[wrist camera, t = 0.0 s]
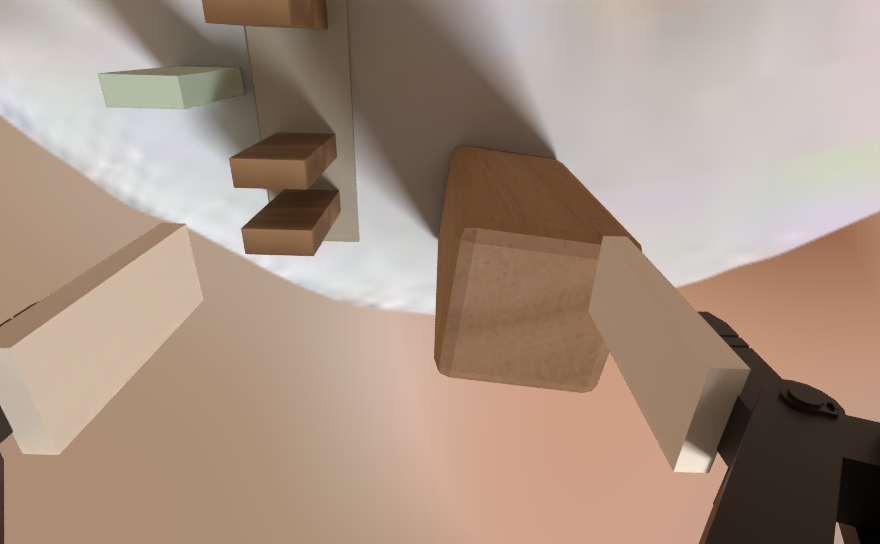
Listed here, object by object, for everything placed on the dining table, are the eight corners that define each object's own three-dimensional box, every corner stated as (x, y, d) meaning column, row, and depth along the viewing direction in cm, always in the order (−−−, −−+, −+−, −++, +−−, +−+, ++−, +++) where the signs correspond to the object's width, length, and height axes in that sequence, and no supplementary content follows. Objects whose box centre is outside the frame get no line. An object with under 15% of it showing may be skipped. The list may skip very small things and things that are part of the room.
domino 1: (260, -3, 36) (199, -17, 27) (326, -1, 36) (286, -15, 27) (264, 27, 37) (205, 22, 28) (328, 29, 37) (290, 25, 28)
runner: (224, -136, 32) (222, -138, 32) (339, -133, 32) (338, -134, 32) (275, 238, 45) (274, 239, 45) (359, 240, 45) (358, 241, 45)
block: (538, 260, 46) (598, 401, 28) (436, 246, 45) (431, 382, 27) (564, 158, 41) (656, 248, 23) (452, 142, 41) (458, 221, 23)
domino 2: (277, 132, 40) (229, 158, 31) (335, 133, 40) (304, 160, 31) (280, 155, 41) (233, 187, 32) (337, 157, 41) (307, 189, 32)
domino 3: (284, 188, 42) (241, 228, 33) (339, 190, 42) (311, 230, 33) (286, 209, 43) (245, 254, 34) (340, 211, 43) (313, 256, 34)
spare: (179, 65, 38) (97, 73, 29) (240, 67, 38) (177, 76, 29) (184, 91, 39) (106, 107, 30) (244, 93, 39) (184, 109, 30)
